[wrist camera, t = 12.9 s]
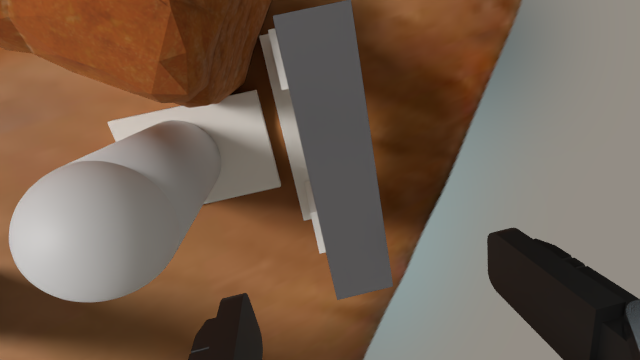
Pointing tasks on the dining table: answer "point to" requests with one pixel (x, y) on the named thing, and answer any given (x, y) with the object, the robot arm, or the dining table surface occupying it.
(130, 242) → the display stand
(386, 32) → the dining table surface
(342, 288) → the gray bar
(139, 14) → the bread
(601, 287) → the robot arm
